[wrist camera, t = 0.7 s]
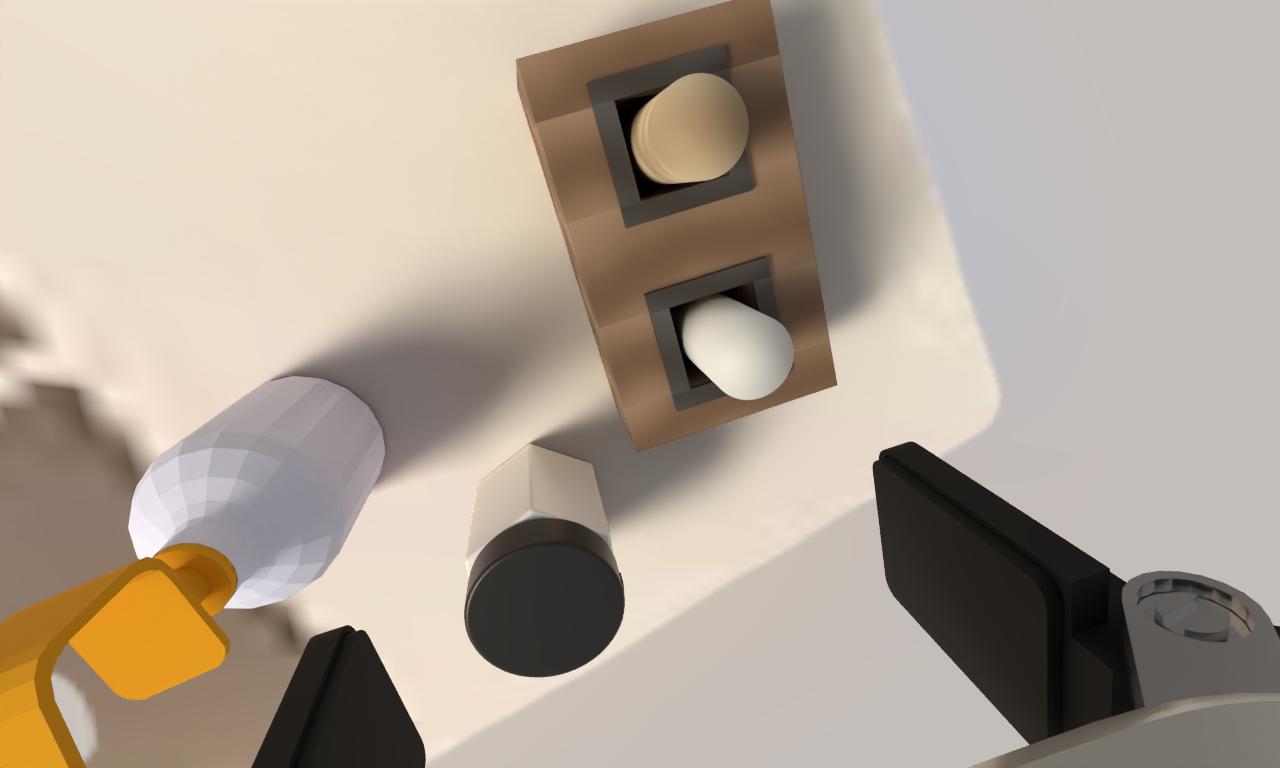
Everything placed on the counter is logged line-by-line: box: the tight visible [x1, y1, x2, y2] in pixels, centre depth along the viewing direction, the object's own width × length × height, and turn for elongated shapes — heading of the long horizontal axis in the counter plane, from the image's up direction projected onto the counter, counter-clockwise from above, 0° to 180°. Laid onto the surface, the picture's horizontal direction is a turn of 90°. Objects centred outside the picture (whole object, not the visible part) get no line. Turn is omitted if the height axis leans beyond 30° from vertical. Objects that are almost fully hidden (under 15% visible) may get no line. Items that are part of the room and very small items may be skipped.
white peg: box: [672, 292, 794, 400], centre depth 31 cm, size 4×4×8 cm
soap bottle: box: [0, 376, 385, 768], centre depth 26 cm, size 9×9×25 cm
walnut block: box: [516, 0, 837, 452], centre depth 34 cm, size 20×12×8 cm, turn 16°
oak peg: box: [623, 73, 749, 185], centre depth 28 cm, size 4×4×8 cm
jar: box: [464, 444, 625, 677], centre depth 36 cm, size 9×8×12 cm
